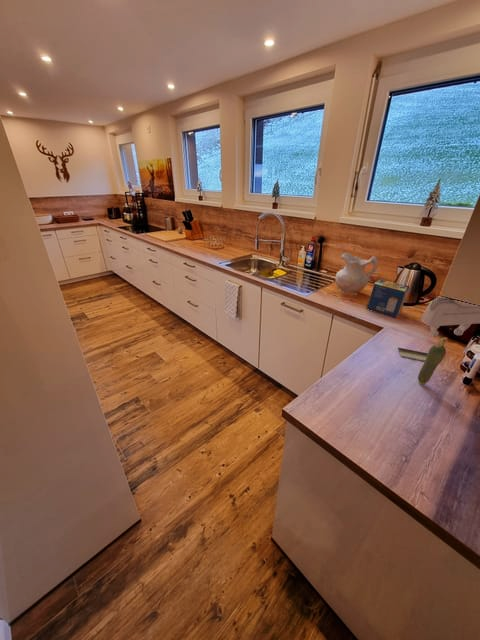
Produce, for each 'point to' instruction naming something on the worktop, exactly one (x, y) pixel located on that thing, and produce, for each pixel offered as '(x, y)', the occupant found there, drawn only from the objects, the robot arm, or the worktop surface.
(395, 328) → the worktop surface
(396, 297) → the protein box
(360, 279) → the ceramic pitcher
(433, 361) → the vegetable
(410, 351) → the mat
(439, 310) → the robot arm
